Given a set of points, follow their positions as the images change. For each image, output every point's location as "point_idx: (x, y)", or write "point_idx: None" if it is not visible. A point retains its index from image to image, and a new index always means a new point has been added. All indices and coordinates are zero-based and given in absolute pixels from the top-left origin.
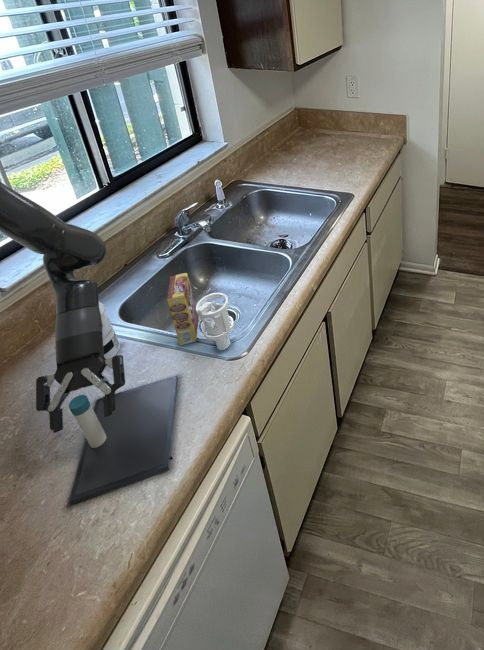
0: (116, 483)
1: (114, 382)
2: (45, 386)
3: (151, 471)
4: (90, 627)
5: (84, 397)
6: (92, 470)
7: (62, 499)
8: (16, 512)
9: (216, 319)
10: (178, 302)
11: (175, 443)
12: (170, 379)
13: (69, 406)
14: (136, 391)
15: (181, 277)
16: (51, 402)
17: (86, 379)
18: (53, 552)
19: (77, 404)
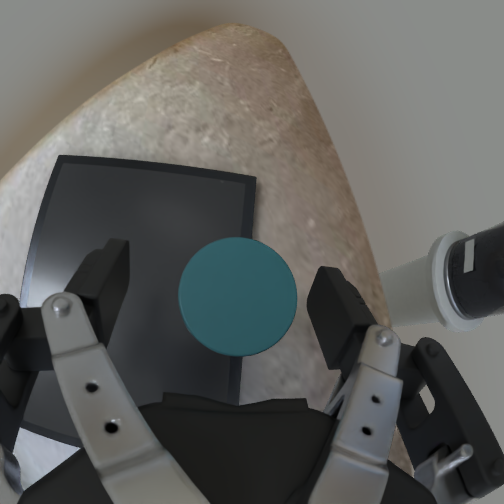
0: (157, 166)
1: (5, 325)
2: (452, 448)
3: (87, 158)
4: (204, 34)
5: (197, 312)
6: (212, 228)
7: (273, 206)
8: (354, 228)
9: None
10: None
11: (37, 216)
12: (29, 423)
13: (289, 277)
14: None
15: None
16: (396, 358)
17: (178, 448)
18: (267, 119)
19: (239, 270)
